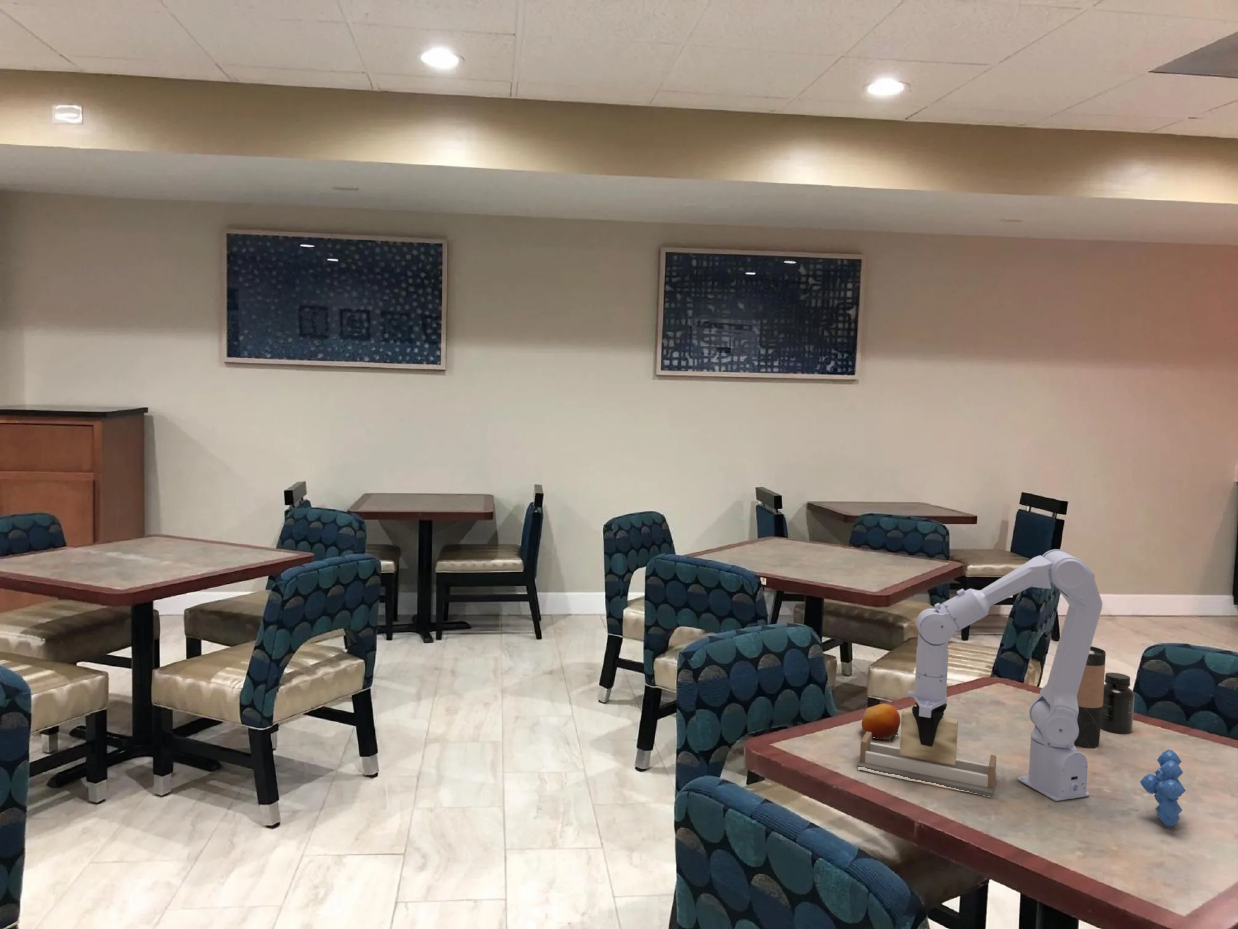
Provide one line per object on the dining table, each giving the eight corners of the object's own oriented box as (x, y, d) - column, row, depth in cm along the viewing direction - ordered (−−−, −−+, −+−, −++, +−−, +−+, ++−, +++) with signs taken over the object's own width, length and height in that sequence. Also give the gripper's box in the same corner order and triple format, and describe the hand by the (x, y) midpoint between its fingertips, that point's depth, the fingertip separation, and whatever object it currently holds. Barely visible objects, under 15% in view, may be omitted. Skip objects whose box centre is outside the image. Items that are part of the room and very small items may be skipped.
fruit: (901, 741, 179) (883, 704, 181) (868, 752, 184) (851, 716, 186) (914, 730, 186) (896, 695, 188) (882, 741, 190) (865, 706, 192)
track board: (995, 777, 166) (997, 752, 166) (992, 798, 157) (993, 771, 157) (867, 752, 177) (868, 728, 177) (857, 770, 168) (858, 745, 168)
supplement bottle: (1119, 723, 197) (1123, 671, 196) (1138, 734, 191) (1142, 680, 190) (1090, 722, 197) (1093, 670, 196) (1108, 734, 190) (1111, 680, 189)
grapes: (1135, 801, 158) (1139, 736, 157) (1179, 810, 154) (1184, 744, 154) (1139, 828, 147) (1144, 759, 146) (1187, 838, 144) (1192, 768, 143)
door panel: (956, 760, 166) (958, 719, 165) (954, 765, 164) (956, 723, 163) (901, 750, 170) (903, 710, 170) (899, 754, 168) (901, 714, 168)
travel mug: (1107, 749, 182) (1113, 655, 180) (1070, 748, 182) (1076, 654, 180) (1088, 735, 189) (1094, 644, 188) (1053, 734, 189) (1058, 643, 188)
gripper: (914, 660, 174) (911, 726, 175) (903, 679, 161) (900, 751, 162) (952, 665, 171) (948, 733, 172) (944, 686, 158) (940, 759, 159)
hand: (927, 742), depth 167 cm, fingers closed on door panel, 2 cm apart
